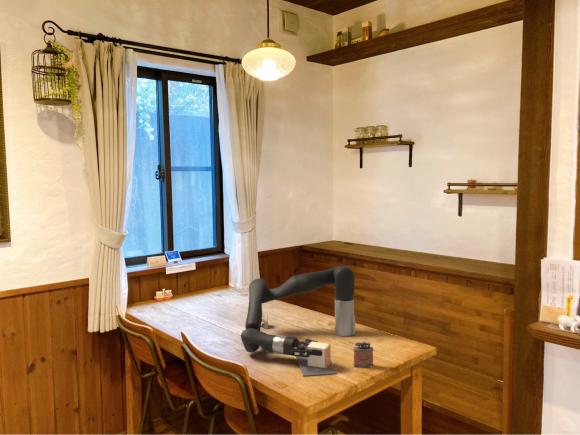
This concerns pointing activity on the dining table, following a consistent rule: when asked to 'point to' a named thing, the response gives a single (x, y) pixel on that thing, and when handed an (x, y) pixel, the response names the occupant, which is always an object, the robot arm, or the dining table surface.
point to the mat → (313, 368)
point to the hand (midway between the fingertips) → (324, 350)
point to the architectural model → (264, 320)
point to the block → (320, 360)
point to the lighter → (363, 354)
